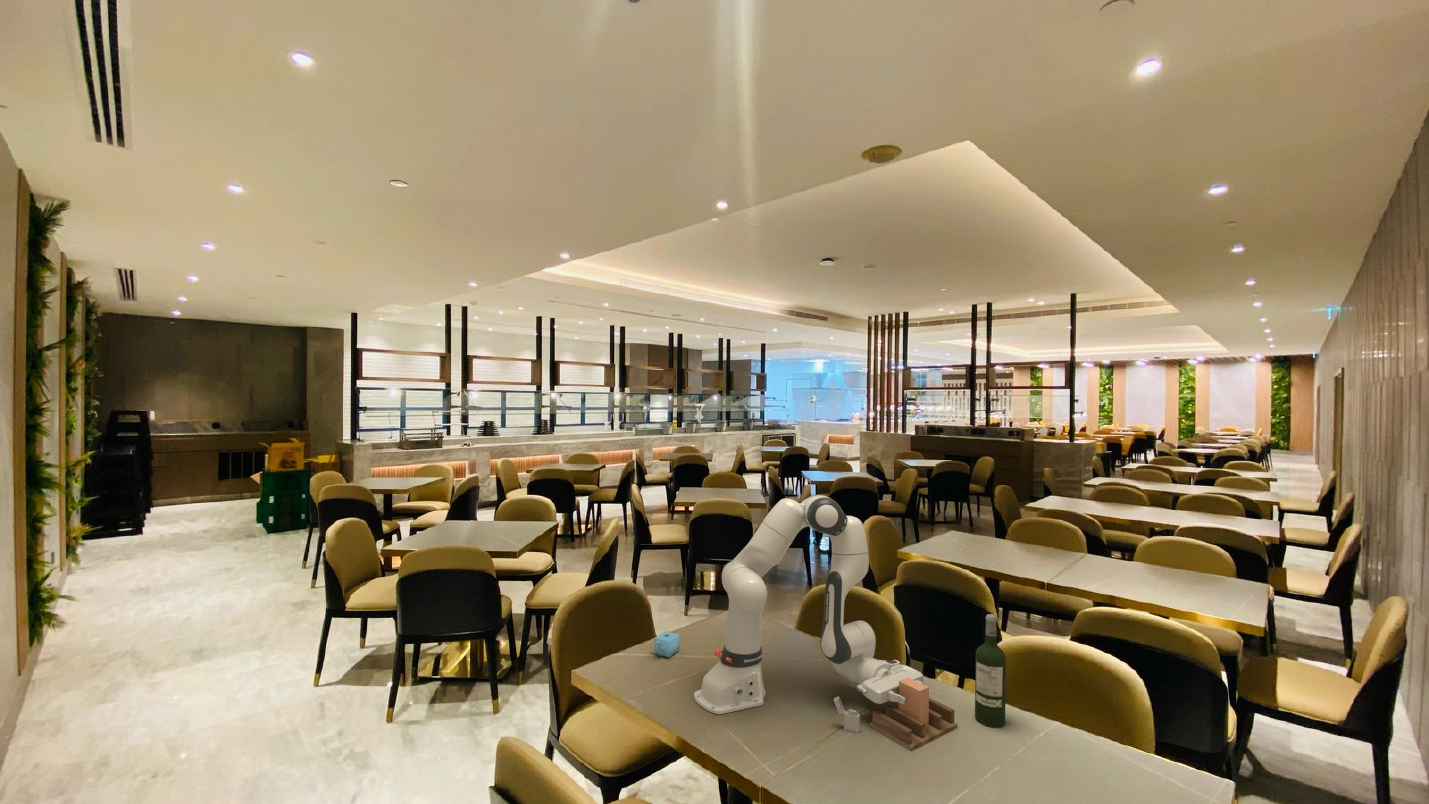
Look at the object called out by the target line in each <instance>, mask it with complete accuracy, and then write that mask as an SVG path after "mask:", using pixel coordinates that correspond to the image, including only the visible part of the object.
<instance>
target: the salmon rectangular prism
mask: <svg viewBox="0 0 1429 804" xmlns="http://www.w3.org/2000/svg"><path fill="white" fill-rule="evenodd" d="M899 695H904V696H906V697H907V703H905V704H901V703H899V702H898V710H900V711H902V712H904V713H906V714H908V715H910V716H912V717H913V718H915V719H917V720H919V721H921V722H923V723H925V728H927V727H929V698H930V687H929V686H927V685H926V684H924V683H923V684H921V683H919V682H917V681H915V680H913V679H910V678H905V679H903V680H900V681H899Z"/></svg>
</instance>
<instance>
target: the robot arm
mask: <svg viewBox="0 0 1429 804" xmlns="http://www.w3.org/2000/svg"><path fill="white" fill-rule="evenodd" d="M807 527H809V528H810V529H811V530H813V531H816V532H818V533H821V534H824V535H825V534H826V535H828V536H829V538H830V542H831V557H832V559H831V565H830V566H831V567H830V571H829V573H828V575H827V577H826V579H825V586H824V587H825V588H824V602H823V604H824V605H823V606H824V607H823V624H822V625H823V626H822V630H821V634H820V640H819V641H820V642H819V644H820V649H821V652H822V655H824V657H825V658H826V659H827V660H829V662H831V663H830V664H831V665H832V667H833V668H834V670H835V671H836V672H837V673H838V674H839V675H840V676H842V677H843V678H845V679H847V680H849V681H851V682H852V683H856V689H857V691H860V692H861V693H862V695H863V696H864V697H866V698H867V699H868V700H869V701H871V702H873V703H875V704H879V705H881V704H885V703H887V702H894V703H895V702H896V703H898V704H899V703H901V704H905V703H907V697H906V696H904V695H899V681H900V680H903V679H905V678H910V679H913V680H915V681H917V682H919V683H921V684H923V685H924V675H923V673H922V672H921V671H919V670H918V669H914V667H911V666H909V665H906V664H901V662H900V661H899V660H897V659H891V660H888V659H887V660H885V659H884V660H883V659H882V660H881V659H876V658H874V657H875V655H876V647H877V635H876V632H875V630H874V628H873V627H872V625H870V623H868V622H867V621H865V620H861V619H859V620H855V621H852V622H848V623H846V624H844V618H845V617H844V615H845V600H846V597H847V595H848V593H849V592H850V591H851V590H852V588H854V586H856V585H857V584H858V583H859V582H861V581H862V580H863V579H864V578H865V577H866V575H867V574H868V572H869V566H870V559H869V558H870V557H869V549H868V548H869V547H868V540H867V536H866V531H865V528H864V525H863V522H862V521H861V520H860V519H859V518H858V517H855V516H853V515H846V514H845V512H844V511H843V509H842V508H841V506H840V504H838V502H837V501H836V500H834V499H832V498H831V497H828V495H827V496H826V495H822V494H813V495H810V496H808V497H805V498H804V499H801V500H800V501H796V500H795V499H792V498H786V497H785V498H781V499H780V500H779V501H778V502H777V503H776V504H775V505H774V506H773V507H772V508H771V509H770V510H769V512H768V513H767V515H766V516H765V518H764V519H763V520H762V522H761V523H760V525H759V526H758V528H757V530H756V531H755V533H754V534H753V536H752V537H751V539H750V540H749V542H748V543H747V544H746V546H744V547H743V549H742V550H741V551H740V552H738V554H737V555H736V556H735V557H734V558H733V559H732V561H729V562H727V563H726V564H725V566H724V567H723V568H722V572H721V583H722V586H723V588H724V590H725V591H726V593H727V596H728V609H727V615H726V619H725V620H724V621H725V622H724V628H725V629H724V640H725V641H724V646H723V647H722V650H720V649H718V648H715V649H714V651H713V655H714V656H715V657H717V658H719V660H718V661H717V662H716V663H715V665H713V667H712V668H711V669H710V670H709V671H707V672H706V674H705V675H704V676H703V679H702V682H701V689H699V690H696V691H695V692H694V693H693V699H694V701H695V703H696V704H698V706H700V707H701V708H703V709H704V710H706V712H707V711H708V712H710V713H713V714H716V715H723V714H728V713H733V712H737V711H741V710H746V709H750V708H755V707H760V706H764V698H765V697H766V694H767V692H766V689H765V685H764V679H763V673H762V660H763V648H762V642H761V641H762V640H761V639H762V635H761V634H762V620H763V613H764V608H765V604H766V603H767V599H768V590H767V586H766V584H765V582H764V580H763V577H764V576H765V575H766V574H767V573H768V572H769V571H770V570H771V569H772V568H773V567H775V566H776V565H779V564H780V562H781V561H782V558H784V556H785V554H786V553H787V551H788V549H789V548H790V546H791V545H792V543H793V541H794V540H795V539H796V536H797V535H798V534H799V532H801V531H802V530H803V529H804V528H807Z"/></svg>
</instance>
